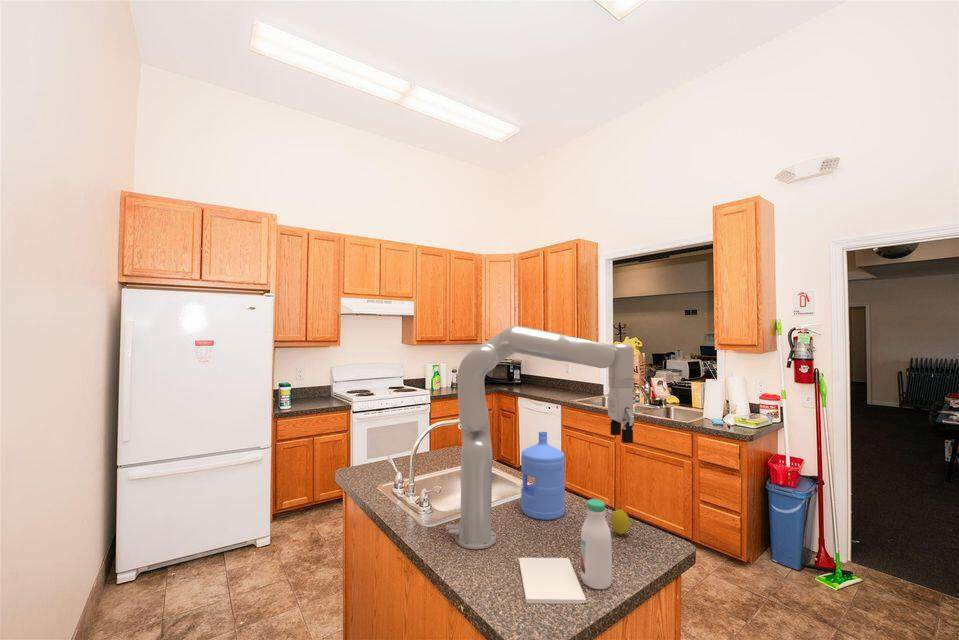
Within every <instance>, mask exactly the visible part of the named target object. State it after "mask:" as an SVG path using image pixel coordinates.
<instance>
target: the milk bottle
mask: <svg viewBox="0 0 959 640" xmlns="http://www.w3.org/2000/svg"><path fill="white" fill-rule="evenodd" d="M586 511H587V514H586V517H585V520H584V522H583V525H582V528H581V531H580V532H581V533H580V579H581V582H582V583H583V584H584V585H585V586H586V587H589V588H591V589H595V590H607V589H608V588H610V587H611V585H612V582H613V581H612V580H613V553H612V552H613V549H612V533H611V530H610V527H609V525H608V522H607V519H606V517H605V516H606V515H605V513H606V503H605V502H604V501H603V500H602V499H596V498H592V499H588V500H587V501H586Z"/></svg>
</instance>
